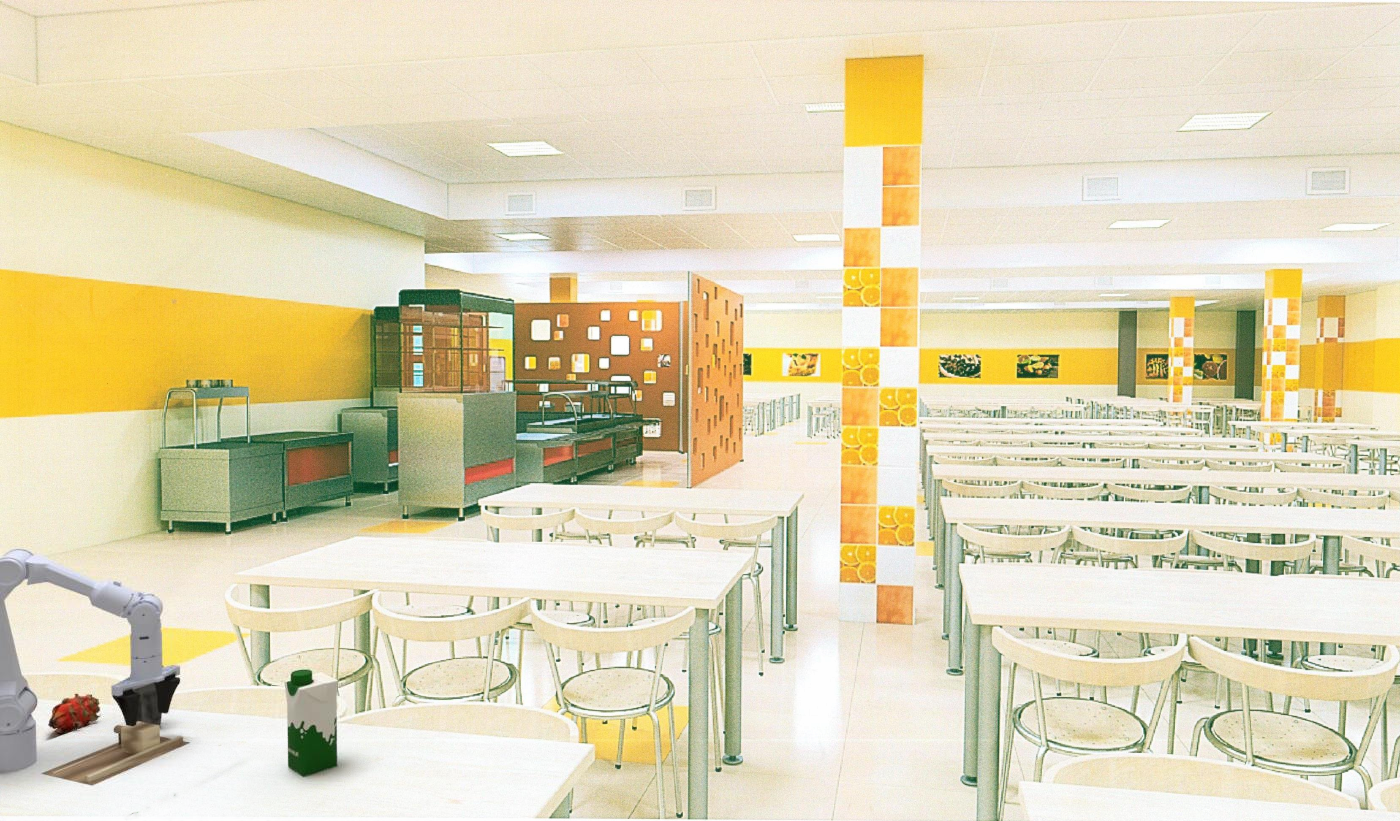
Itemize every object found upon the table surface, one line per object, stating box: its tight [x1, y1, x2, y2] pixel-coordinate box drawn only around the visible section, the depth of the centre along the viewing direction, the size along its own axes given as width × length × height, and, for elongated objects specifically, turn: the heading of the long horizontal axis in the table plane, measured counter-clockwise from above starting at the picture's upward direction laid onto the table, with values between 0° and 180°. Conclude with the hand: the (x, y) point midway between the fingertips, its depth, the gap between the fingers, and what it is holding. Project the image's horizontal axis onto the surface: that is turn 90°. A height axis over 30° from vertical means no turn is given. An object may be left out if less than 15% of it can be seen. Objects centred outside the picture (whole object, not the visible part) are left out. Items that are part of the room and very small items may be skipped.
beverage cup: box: [129, 664, 164, 726], centre depth 215 cm, size 7×7×20 cm
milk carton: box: [284, 669, 339, 778], centre depth 196 cm, size 9×9×20 cm
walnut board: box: [41, 735, 191, 786], centre depth 196 cm, size 14×22×3 cm, turn 159°
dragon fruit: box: [47, 693, 102, 736], centre depth 213 cm, size 8×8×12 cm
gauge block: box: [113, 721, 161, 754], centre depth 200 cm, size 10×4×5 cm, turn 69°
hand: (147, 718), depth 201 cm, fingers open, 7 cm apart
